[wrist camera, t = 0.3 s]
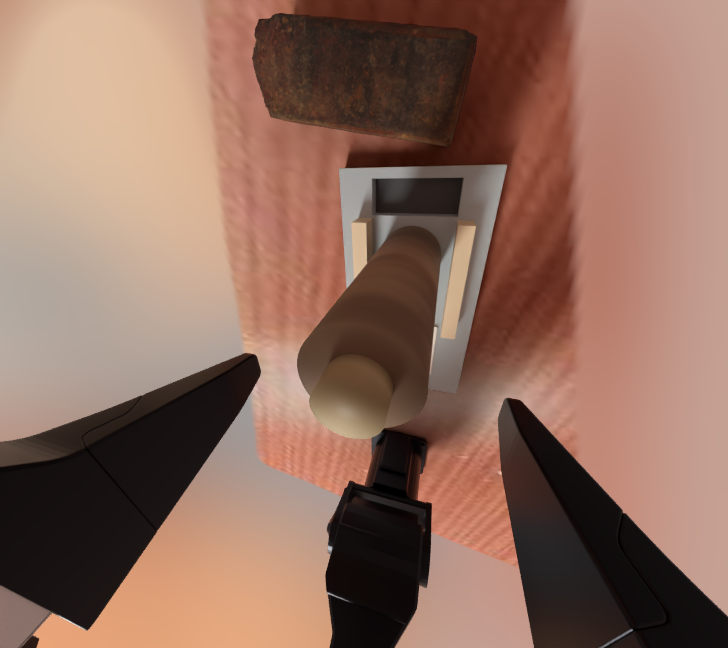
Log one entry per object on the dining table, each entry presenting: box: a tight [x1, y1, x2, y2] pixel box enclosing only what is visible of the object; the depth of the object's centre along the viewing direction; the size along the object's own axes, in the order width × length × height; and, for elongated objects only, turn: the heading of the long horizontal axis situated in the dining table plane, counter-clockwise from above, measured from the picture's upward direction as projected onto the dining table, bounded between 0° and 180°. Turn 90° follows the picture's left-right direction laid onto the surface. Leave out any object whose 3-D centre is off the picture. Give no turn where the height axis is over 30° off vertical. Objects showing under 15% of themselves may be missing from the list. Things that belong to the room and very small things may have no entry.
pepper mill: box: [297, 226, 441, 439], centre depth 13 cm, size 4×4×14 cm
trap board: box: [339, 164, 507, 394], centre depth 21 cm, size 18×10×3 cm, turn 1°
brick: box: [252, 13, 477, 147], centre depth 14 cm, size 11×4×5 cm, turn 82°
